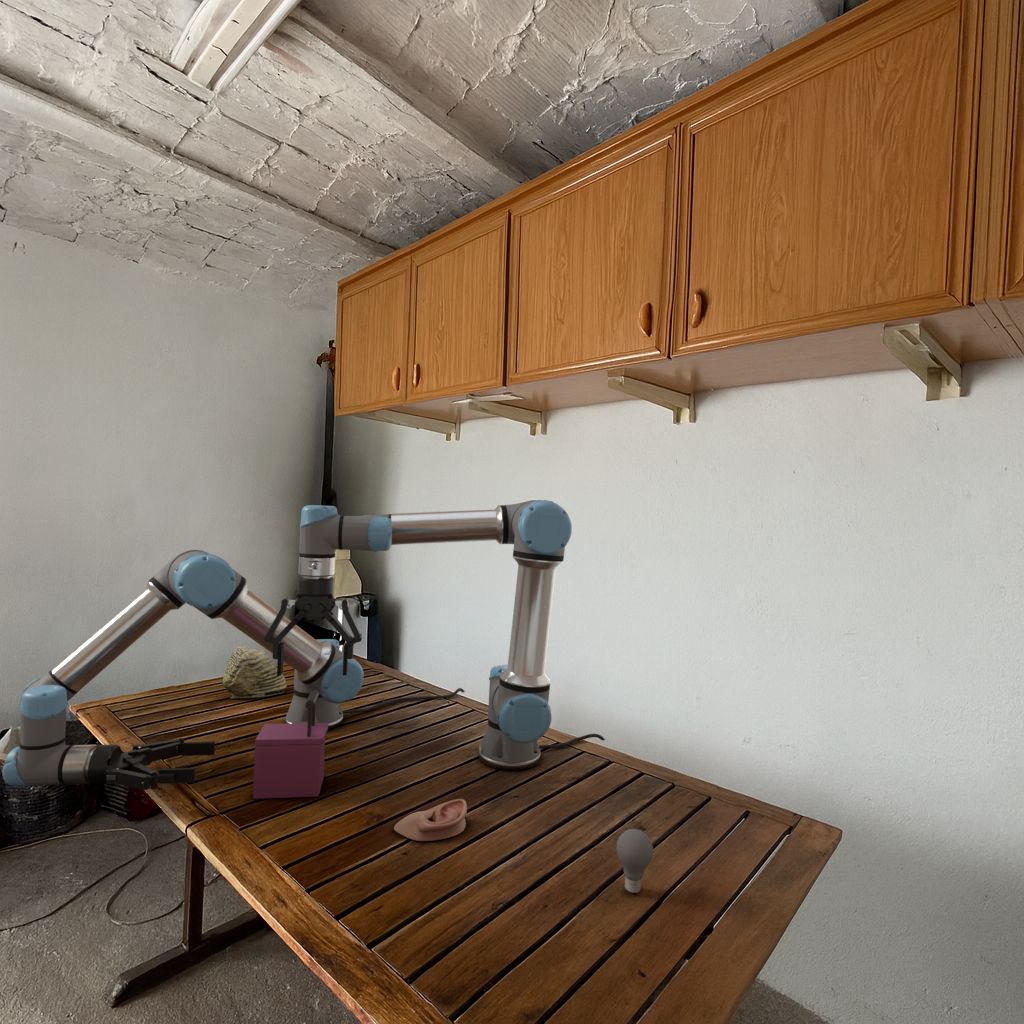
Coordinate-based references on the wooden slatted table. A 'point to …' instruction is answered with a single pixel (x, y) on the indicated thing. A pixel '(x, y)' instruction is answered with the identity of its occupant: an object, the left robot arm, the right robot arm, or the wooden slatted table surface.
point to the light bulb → (634, 857)
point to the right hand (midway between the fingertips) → (312, 674)
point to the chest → (288, 770)
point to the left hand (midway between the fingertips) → (204, 761)
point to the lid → (295, 729)
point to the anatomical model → (434, 822)
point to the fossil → (252, 674)
